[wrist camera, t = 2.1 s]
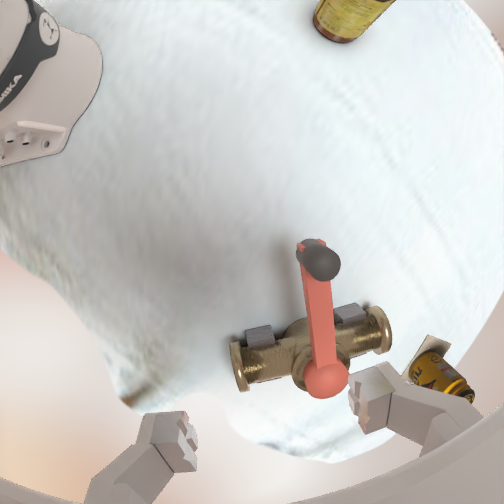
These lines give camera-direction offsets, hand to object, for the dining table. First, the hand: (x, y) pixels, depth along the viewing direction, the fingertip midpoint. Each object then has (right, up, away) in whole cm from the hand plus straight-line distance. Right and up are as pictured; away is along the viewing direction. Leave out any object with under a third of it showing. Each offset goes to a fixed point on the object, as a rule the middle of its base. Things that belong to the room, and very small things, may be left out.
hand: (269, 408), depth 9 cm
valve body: (+6, -5, +26) cm, 27 cm away
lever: (+6, -1, +17) cm, 18 cm away
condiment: (+28, -12, +30) cm, 43 cm away
